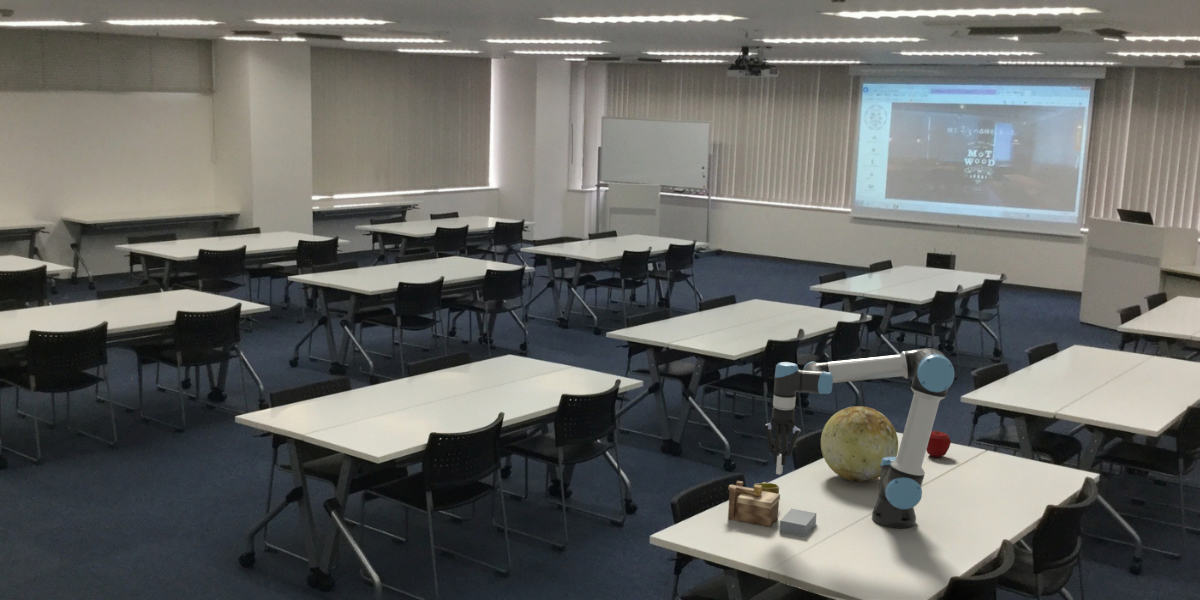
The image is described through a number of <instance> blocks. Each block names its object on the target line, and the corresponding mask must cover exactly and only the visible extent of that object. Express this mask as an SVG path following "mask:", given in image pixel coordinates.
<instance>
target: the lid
mask: <svg viewBox="0 0 1200 600" xmlns="http://www.w3.org/2000/svg"><path fill="white" fill-rule="evenodd" d="M780 500H781V494H780V493H779V494H776V493H771V492H765V491H762V494H761V495H760V496H757V495H753V494H747V493H742V494H741V495H740V496H739V497H738V503H742V504H748V505H753V506H758V507H764V508H769V509H771V508H772V507H773V506H774V505H775V504H776V503H777V502H778V501H779V502H780Z"/></svg>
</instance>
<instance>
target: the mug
mask: <svg viewBox="0 0 1200 600" xmlns="http://www.w3.org/2000/svg"><path fill="white" fill-rule="evenodd" d="M756 485H762V491H765V492H771V493H776V494H780V486H779V485H778V484H776V483H774V482H773V483H771V482H766V481H763V482H761V483H754V484H753V487H752V488H753V489H754V487H755V486H756Z"/></svg>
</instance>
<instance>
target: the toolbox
mask: <svg viewBox="0 0 1200 600" xmlns="http://www.w3.org/2000/svg"><path fill="white" fill-rule="evenodd" d="M735 485H736V486H742V487H744V481H741V480H736V482H735ZM728 491H729V493H728V494H729V496H728V513H727V514H728V515H727V519H728V520H732V521H737V522H741V523H746V524H751V525H756V524H757V525H758V526H761V525H763V526H762V527H766V526H768V528H771V527H773V525H774V524H775V523H776V522H777V521H778V520H779V507H780V506H779V503H780V500H779V501H778V502H777V503H776V504H775V505H774V506H773V507H772V508H771V509H769V508H764V507H758V506H753V505H748V504H742V503H738V497H739V496H740V495H741V494H742V492H737V487H733V486H731V487H730V490H728Z"/></svg>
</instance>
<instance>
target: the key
mask: <svg viewBox="0 0 1200 600" xmlns="http://www.w3.org/2000/svg"><path fill="white" fill-rule="evenodd" d="M731 486H733V487H737V492H742V493H747V494H753V495H757V496H760V495H761V494H762V485H756V486H755V487H754V486H753V487H754V489H753V487H746V486H743V487H742V486H736V484H729V485H728V491H730V487H731Z"/></svg>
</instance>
